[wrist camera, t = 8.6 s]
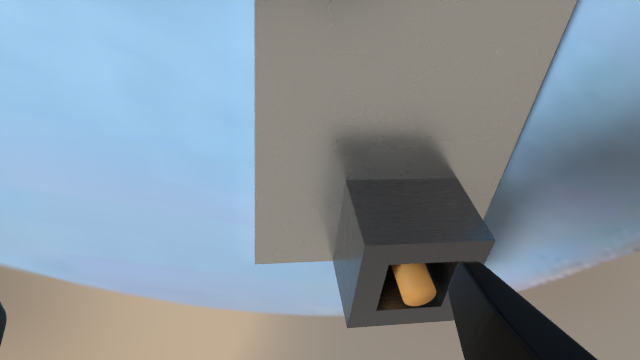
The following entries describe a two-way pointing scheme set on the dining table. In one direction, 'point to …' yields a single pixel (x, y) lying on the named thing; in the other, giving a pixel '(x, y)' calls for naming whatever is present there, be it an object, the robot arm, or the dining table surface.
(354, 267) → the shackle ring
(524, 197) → the dining table surface
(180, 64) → the dining table surface
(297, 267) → the dining table surface
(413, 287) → the post
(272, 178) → the tie plate
